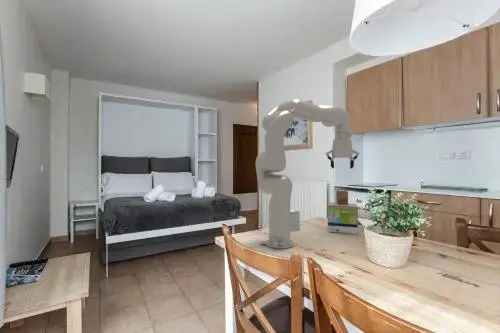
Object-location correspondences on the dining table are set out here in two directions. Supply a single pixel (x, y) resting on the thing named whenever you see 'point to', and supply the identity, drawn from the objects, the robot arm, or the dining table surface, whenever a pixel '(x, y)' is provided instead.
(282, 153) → the robot arm
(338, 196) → the walnut block
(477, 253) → the dining table surface
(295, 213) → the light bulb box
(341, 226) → the tea box
